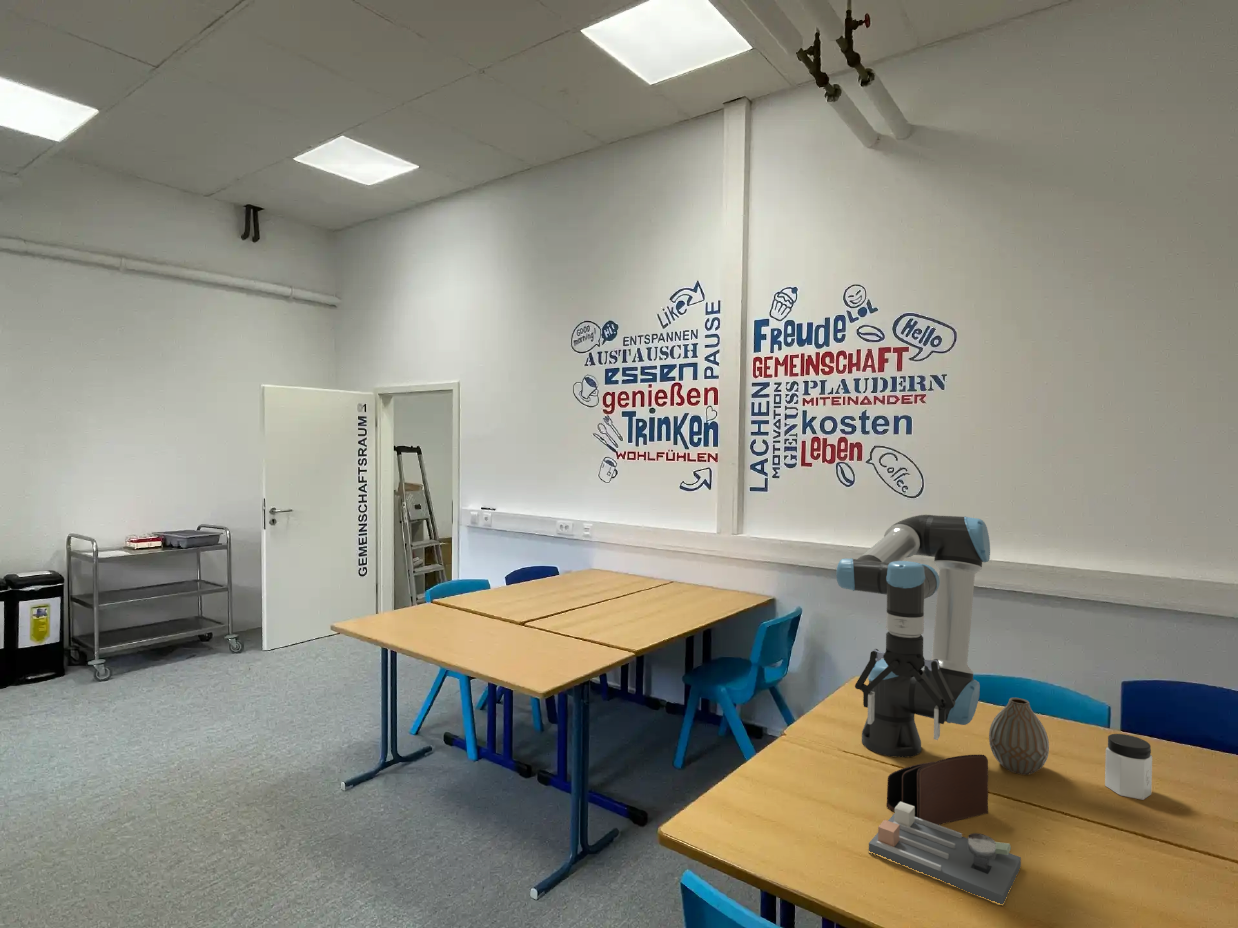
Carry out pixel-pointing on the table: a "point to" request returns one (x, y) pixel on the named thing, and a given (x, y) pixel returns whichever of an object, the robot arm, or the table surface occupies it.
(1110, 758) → the jar
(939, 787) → the letter holder
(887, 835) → the slider terracotta
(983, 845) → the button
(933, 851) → the panel
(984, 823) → the table surface
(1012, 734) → the vase
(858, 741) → the table surface
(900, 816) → the slider ivory
